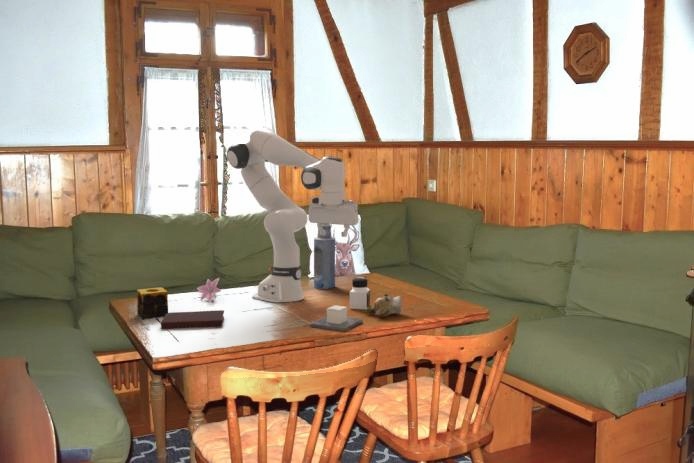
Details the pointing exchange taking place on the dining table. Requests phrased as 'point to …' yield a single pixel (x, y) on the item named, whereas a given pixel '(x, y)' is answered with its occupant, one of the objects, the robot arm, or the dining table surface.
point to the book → (193, 319)
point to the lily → (209, 289)
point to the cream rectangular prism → (336, 314)
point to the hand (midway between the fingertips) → (333, 235)
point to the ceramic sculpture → (386, 306)
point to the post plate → (333, 326)
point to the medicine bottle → (359, 294)
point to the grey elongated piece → (324, 259)
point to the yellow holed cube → (152, 303)
